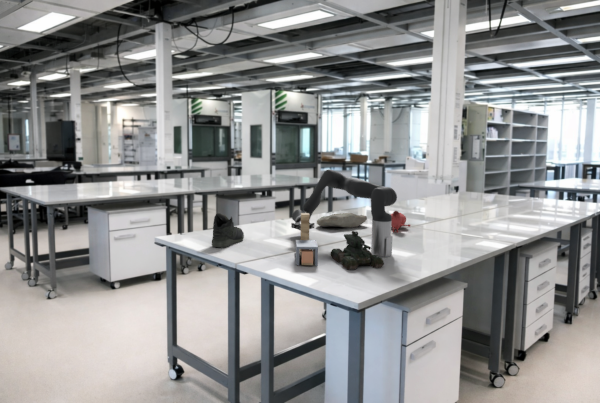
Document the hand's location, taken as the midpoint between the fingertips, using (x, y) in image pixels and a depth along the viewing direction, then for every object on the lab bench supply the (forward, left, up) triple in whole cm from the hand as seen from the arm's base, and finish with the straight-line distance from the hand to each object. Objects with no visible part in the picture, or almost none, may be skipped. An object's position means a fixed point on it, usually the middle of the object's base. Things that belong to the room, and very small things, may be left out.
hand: (303, 228), depth 245 cm
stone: (+19, -63, -10) cm, 67 cm away
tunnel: (-18, +21, -10) cm, 29 cm away
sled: (-15, +18, -9) cm, 25 cm away
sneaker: (+38, +17, -10) cm, 42 cm away
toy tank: (-36, +7, -11) cm, 38 cm away
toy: (-12, -82, -10) cm, 84 cm away
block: (-22, +26, -8) cm, 35 cm away
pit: (-11, +13, -10) cm, 20 cm away
